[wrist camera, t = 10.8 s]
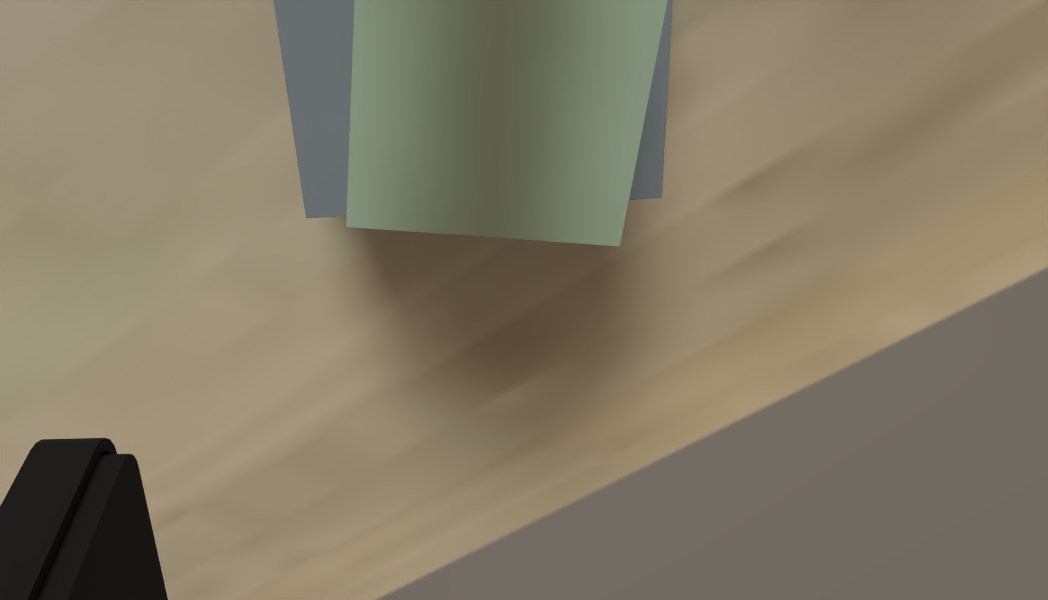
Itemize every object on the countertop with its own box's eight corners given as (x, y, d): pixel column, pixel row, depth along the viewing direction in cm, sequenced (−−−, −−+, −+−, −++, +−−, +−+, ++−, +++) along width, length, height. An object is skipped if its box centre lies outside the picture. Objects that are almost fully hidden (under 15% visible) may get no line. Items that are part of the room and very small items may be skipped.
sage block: (620, -87, 24) (673, -31, 19) (583, 144, 27) (619, 246, 22) (371, -117, 23) (356, -65, 18) (361, 125, 26) (346, 227, 21)
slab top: (649, -207, 27) (683, -194, 23) (635, 144, 32) (661, 197, 28) (270, -195, 26) (246, -181, 22) (318, 161, 31) (306, 218, 28)
